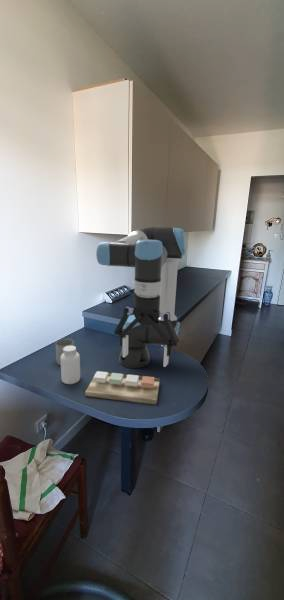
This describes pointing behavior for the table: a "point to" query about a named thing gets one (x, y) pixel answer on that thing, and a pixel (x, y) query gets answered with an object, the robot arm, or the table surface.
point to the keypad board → (124, 391)
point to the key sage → (116, 378)
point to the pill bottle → (70, 365)
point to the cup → (59, 348)
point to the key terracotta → (147, 382)
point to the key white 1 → (100, 377)
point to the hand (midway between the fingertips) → (145, 359)
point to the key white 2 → (132, 380)
